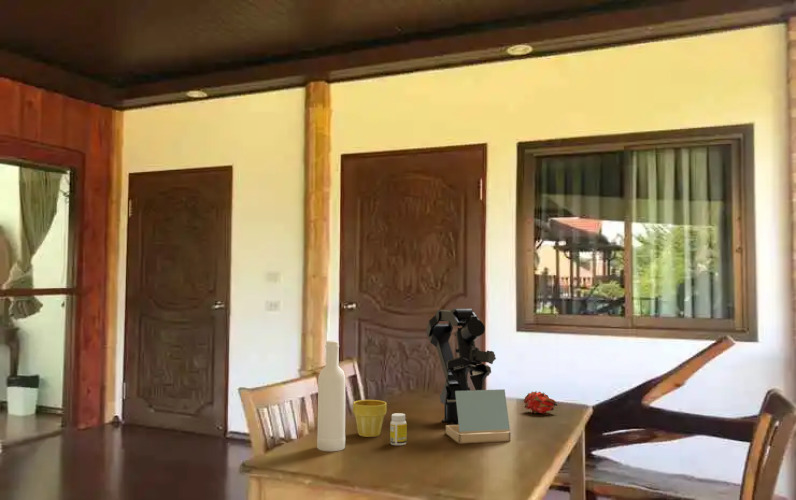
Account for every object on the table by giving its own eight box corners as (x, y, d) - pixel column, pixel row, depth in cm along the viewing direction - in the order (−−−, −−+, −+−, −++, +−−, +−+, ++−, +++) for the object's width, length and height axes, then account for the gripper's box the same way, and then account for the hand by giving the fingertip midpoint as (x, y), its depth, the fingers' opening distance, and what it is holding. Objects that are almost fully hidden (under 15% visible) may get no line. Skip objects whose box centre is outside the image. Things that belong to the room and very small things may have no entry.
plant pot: (392, 432, 204) (392, 401, 204) (377, 440, 194) (377, 406, 195) (362, 429, 208) (362, 398, 209) (346, 436, 199) (346, 403, 199)
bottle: (313, 446, 187) (315, 340, 188) (340, 443, 190) (341, 339, 191) (321, 452, 180) (323, 342, 181) (349, 450, 183) (350, 341, 184)
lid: (455, 391, 196) (455, 390, 195) (504, 389, 199) (504, 389, 199) (459, 433, 191) (460, 433, 190) (509, 431, 194) (510, 431, 194)
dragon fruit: (521, 415, 239) (554, 423, 234) (519, 405, 232) (554, 413, 228) (526, 395, 243) (559, 402, 239) (525, 384, 237) (558, 391, 232)
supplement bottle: (408, 442, 192) (408, 413, 192) (403, 446, 187) (403, 416, 188) (393, 441, 193) (393, 412, 194) (387, 444, 189) (388, 415, 189)
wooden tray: (445, 433, 203) (445, 425, 203) (494, 431, 207) (494, 423, 207) (458, 443, 191) (458, 435, 191) (510, 441, 194) (510, 432, 194)
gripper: (474, 334, 200) (481, 385, 194) (501, 344, 214) (509, 392, 208) (443, 342, 205) (449, 392, 199) (472, 352, 220) (478, 399, 214)
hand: (473, 394), depth 205 cm, fingers open, 9 cm apart
